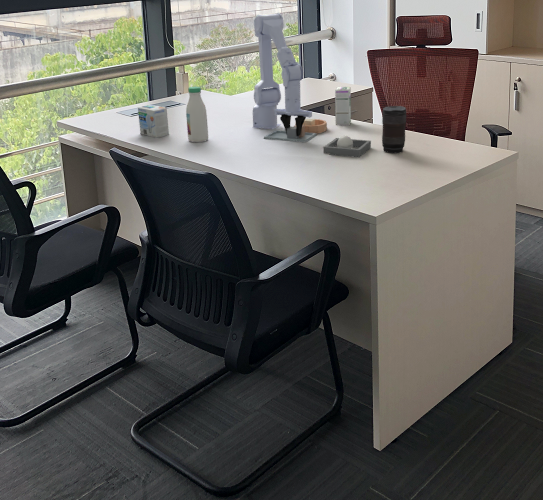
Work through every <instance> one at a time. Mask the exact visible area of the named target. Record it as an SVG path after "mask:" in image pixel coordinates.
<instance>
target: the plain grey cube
mask: <svg viewBox="0 0 543 500" xmlns="http://www.w3.org/2000/svg"><path fill="white" fill-rule="evenodd" d="M287 138H292V139H298V138H299V136H297V134H296V127H294V126H292V125H290V127H289V128H287Z"/></svg>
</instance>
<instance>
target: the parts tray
mask: <svg viewBox="0 0 543 500" xmlns="http://www.w3.org/2000/svg"><path fill="white" fill-rule="evenodd" d="M316 136H317V133H307V132H305V136H304V137H299V138H298V139H292V138H287V135H286V131H285V130H283V129H281V130H279V129H275V130H273V131H272V132H269V133H268V134H266V135H264V136H263V139H264V140H274V141H275V140H276V141H286V142H297V143H298V142H301V143H306V142H308V141H310V140H312V138H315V137H316Z"/></svg>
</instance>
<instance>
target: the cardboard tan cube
mask: <svg viewBox="0 0 543 500" xmlns="http://www.w3.org/2000/svg"><path fill="white" fill-rule="evenodd" d="M293 127H296V125H293ZM304 136H305V125H303V126H302V129H301V134H300V135H299V137H304Z"/></svg>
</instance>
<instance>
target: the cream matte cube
mask: <svg viewBox="0 0 543 500" xmlns="http://www.w3.org/2000/svg"><path fill="white" fill-rule="evenodd" d="M315 119H316V118H306V119H305V121H304V123H303V125H305V126H315Z"/></svg>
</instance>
